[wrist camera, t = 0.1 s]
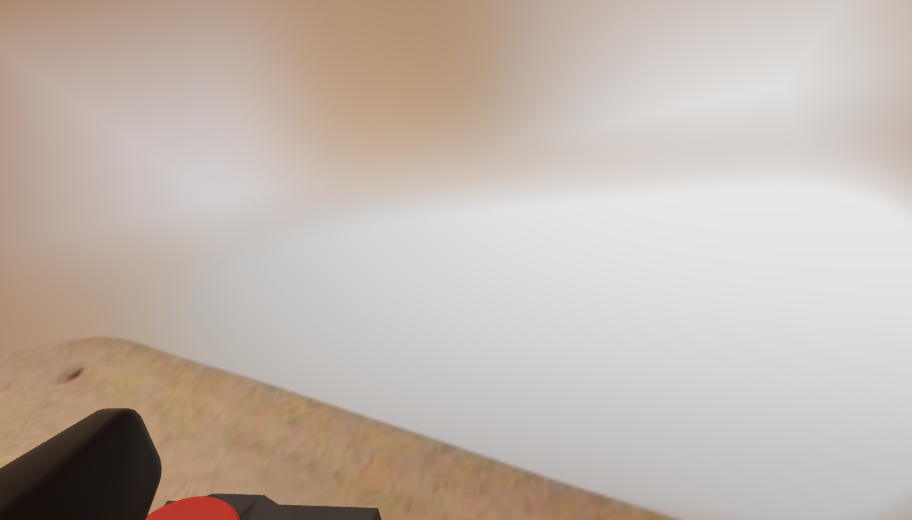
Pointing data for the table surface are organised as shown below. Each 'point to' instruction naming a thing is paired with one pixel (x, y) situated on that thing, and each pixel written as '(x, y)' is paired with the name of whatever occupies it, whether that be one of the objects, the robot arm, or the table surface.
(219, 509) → the power button
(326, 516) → the button base
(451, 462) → the table surface
